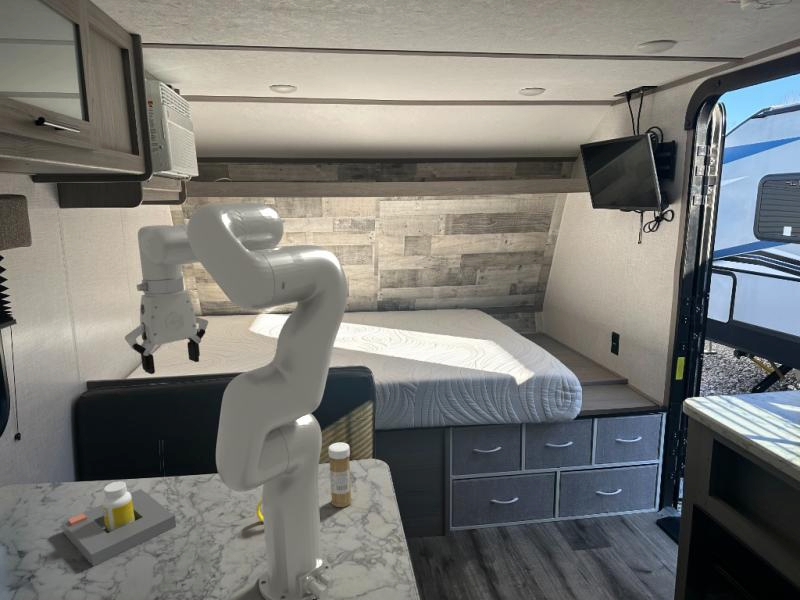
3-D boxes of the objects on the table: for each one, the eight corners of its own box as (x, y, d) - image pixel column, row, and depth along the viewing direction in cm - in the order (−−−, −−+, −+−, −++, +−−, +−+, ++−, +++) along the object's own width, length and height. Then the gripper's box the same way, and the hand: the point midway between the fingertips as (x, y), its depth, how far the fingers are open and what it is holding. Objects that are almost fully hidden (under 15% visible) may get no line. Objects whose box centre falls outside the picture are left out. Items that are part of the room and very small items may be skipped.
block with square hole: (176, 526, 113) (174, 513, 112) (93, 566, 101) (91, 551, 101) (141, 498, 123) (140, 486, 123) (63, 532, 112) (61, 518, 111)
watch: (257, 527, 113) (253, 501, 112) (260, 519, 115) (256, 494, 114) (286, 524, 113) (282, 498, 112) (288, 516, 116) (285, 491, 114)
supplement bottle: (140, 522, 115) (135, 479, 113) (125, 538, 109) (119, 494, 107) (116, 521, 115) (110, 478, 113) (100, 537, 110) (93, 493, 108)
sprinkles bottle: (352, 496, 123) (350, 441, 120) (350, 508, 118) (347, 451, 115) (332, 496, 123) (330, 441, 120) (329, 508, 118) (326, 451, 116)
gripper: (128, 295, 102) (139, 381, 106) (212, 282, 115) (219, 359, 118) (112, 291, 107) (122, 373, 111) (194, 279, 120) (201, 353, 123)
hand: (172, 366), depth 114 cm, fingers open, 9 cm apart
